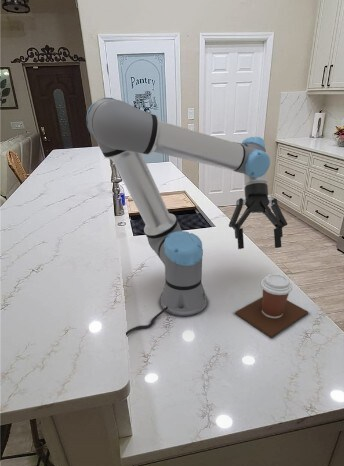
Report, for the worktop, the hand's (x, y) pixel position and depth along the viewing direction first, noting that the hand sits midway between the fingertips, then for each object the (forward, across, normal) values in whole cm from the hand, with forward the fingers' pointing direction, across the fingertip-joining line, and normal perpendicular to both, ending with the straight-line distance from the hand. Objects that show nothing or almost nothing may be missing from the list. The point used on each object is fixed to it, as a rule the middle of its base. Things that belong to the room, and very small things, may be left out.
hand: (259, 248), depth 108 cm
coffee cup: (+21, 0, +4) cm, 21 cm away
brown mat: (+21, 0, +4) cm, 22 cm away
